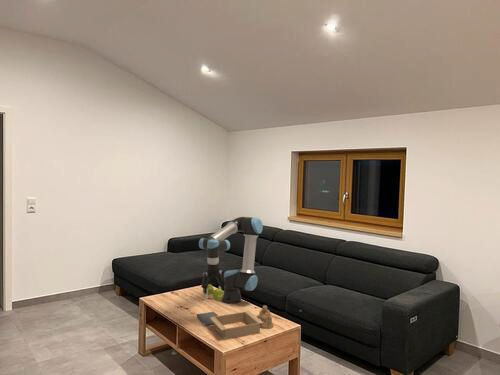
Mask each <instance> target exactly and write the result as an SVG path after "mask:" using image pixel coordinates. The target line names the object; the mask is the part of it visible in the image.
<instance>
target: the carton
mask: <svg viewBox="0 0 500 375" xmlns="http://www.w3.org/2000/svg"><path fill="white" fill-rule="evenodd" d="M210 319H211V320H212V321H213V325H212V327H213V328H215V330H217V332H218V333H219V334H220V335H221V336H222V337H223V338H224V339H225V340H230V339H234V338H240V337H245V336H251V335H256V334H260V333H261V328H260V324H261V323H263V322H262V321H261V320H260V319H258V318H257V315H255V314H253V313H252V312H251V311H248V310H246V311H241V312H235V313H227V314H222V315H217V316H216V317H210ZM241 322H246V323H247V324H245V325H240V326H239V325H238V326H233V327H229V328H226V327H225V326H224V325H229V324H231V325H232V324H235V323H236V324H237V323H241Z"/></svg>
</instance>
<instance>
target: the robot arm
mask: <svg viewBox="0 0 500 375" xmlns="http://www.w3.org/2000/svg"><path fill="white" fill-rule="evenodd" d="M263 226H264V225H263V222H262V220H261V219H260V218H258V217H249V216H239V217H236V218H234V219H232V220H230V221H229V222H227V224H226V225H225V226H223V227H222V228H220V229H219V230H217V231H216V232H214V233H213V234H211V235H209V236H208V237H201V238H200V239H199V241H198V247H199V248H200V249H201V250H206V251H207V253H206V254H207V260H206V261H207V266H206V267H207V268H206V269H207V271H206V272H203V273H202V280H201V281H202V282H201V286H200V287H201V288H202V289H203V288H204V293H205V294H204V293H203V294H204V296H205V299H206V300H209V296H208V289H207V287H208V284H210V281H211V279H212V278H215V279H216V280H217V283H218V289H222V290H223V292H224V296H223V298H222V300H221V302H223V303H225V304H238V303H241V301H242V295H241V291H240V290H242V291H243V290H244V291H250V292H251V291H254V290H255V288H256V287H257V285H258V282H259V279H258V276H257V275H256V272H255V270H254V269H255V259H256V258H255V257H256V248H257V238H259V236H260V234H262V232H263V230H264V229H263ZM236 233H243V236H244V237H245V238H244V247H243V259H242V266H241V267H242V268H241V270H240V269H228V270H226V271H224V270H220V264H219V262H220V259H219V258H220V255H219V254H220V253H223V252H226V251H229V250H230V248H231V243H230V241H229V240H228V239H227V238H228V237H229V236H231V235H233V234H236ZM219 274H220V277H219Z"/></svg>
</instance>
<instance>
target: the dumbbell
mask: <svg viewBox="0 0 500 375" xmlns="http://www.w3.org/2000/svg"><path fill="white" fill-rule="evenodd" d="M207 289H208V297H209V296H211V295H212V298H213V299H214V301H215V302H218V301H222V298H223V296H224V290H223V288H222V289H219V288H217V289H214V286H213V285H212V283H209V284H208V287H207ZM202 293H203V294H204V295H205V293H204V288H202Z"/></svg>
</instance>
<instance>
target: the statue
mask: <svg viewBox="0 0 500 375" xmlns="http://www.w3.org/2000/svg"><path fill="white" fill-rule="evenodd" d="M256 317H257V318H258V319H260V320H261V321H262V322H263V323H261V324H260V329H265V330H269V329H273V328H274V327H275V326H274V322H273V319H272V318H273V317H272V314H271V312H270V310H269V309H268V306H267V305H265V304H264V305H262V309H261V310H260V311H259V314H258V315H256Z"/></svg>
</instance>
